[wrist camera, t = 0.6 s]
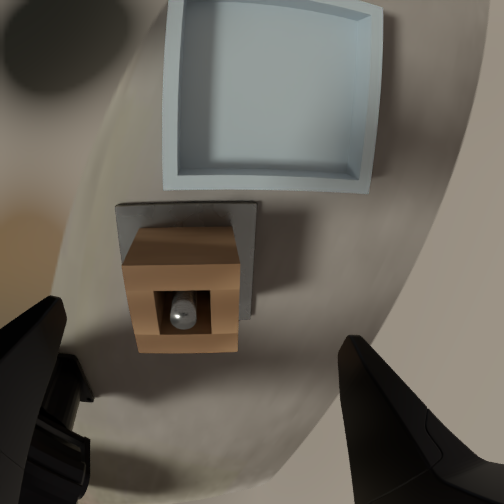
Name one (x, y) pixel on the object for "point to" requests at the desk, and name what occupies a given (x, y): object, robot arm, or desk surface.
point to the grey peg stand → (195, 215)
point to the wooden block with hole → (183, 288)
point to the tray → (271, 94)
